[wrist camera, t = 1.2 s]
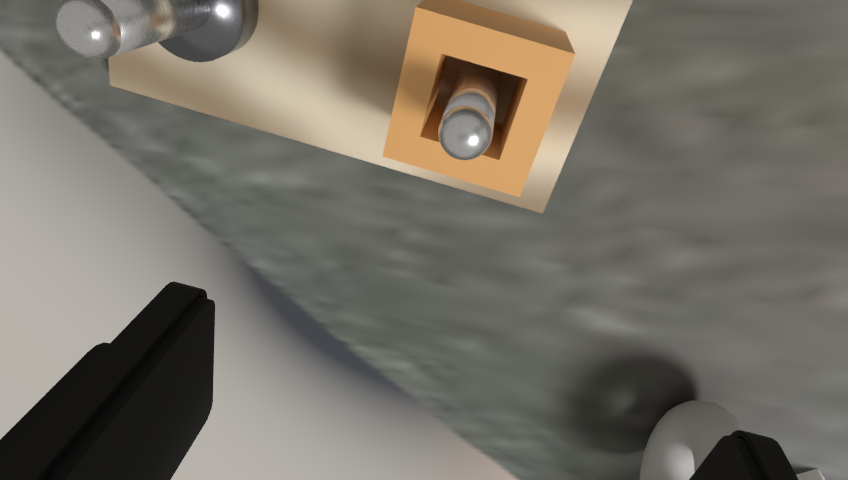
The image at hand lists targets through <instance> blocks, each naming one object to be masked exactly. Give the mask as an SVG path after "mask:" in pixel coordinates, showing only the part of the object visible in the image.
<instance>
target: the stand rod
mask: <svg viewBox="0 0 848 480" xmlns="http://www.w3.org/2000/svg"><path fill="white" fill-rule="evenodd" d="M499 81H500V77H499V72H498V70H495V69H492V68H489V67H485V66H482V65H478V64H475V63H472V62H468V63H467V64H465V66H464V67H463V68H462V70H461V72H460V74H459V77H458V79H457V82H456V84H455V87H454V89H453V92H452V94H451V97H450V99H449V102H448V104H447V107H446V109H445V112H444V114H443V117H442V119H441V122H440V125H439V129H438V137H439V141H440V144H441V146H442V148H443V149H444V150H445V152H446V153H447V154H449V155H450V156H451V157H453V158H455V159H459V160H471V159H475V158H477V157H479V156H481V155H482V154H483V153H484V152H485V151H486V150H487V149H488V147H489V145H490V143H491V140H492V136H493V128H494V120H495V112H496V105H497V97H498V89H499Z"/></svg>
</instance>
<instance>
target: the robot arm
mask: <svg viewBox="0 0 848 480" xmlns="http://www.w3.org/2000/svg"><path fill="white" fill-rule="evenodd" d="M214 320H215V303H214V301H213V300H210V299H207V293H206V291H205V290H203V289H200V288H196V287H193V286H188V285H185V284H181V283H177V282H170V283H169V284H168V285H166V286H165V287H164V288H163V289H162V291H160V292H159V294H158V295H157V296H156V297H155V298H154V299H153V300H152V301H151V302H150V303H149V304H148V305H147V306H146V307H145V308H144V309H143V310H142V311H141V312H140V313H139V314H138V315H137V316H136V317H135V318H134V319H133V320H132V321H131V322H130V324H129V325H128V326H127V327H126V328H125V329H124V330H123V331H122V332H121V333H120V334H119V335H118V336H117V337H116V338H115V339H114V340H113V341H112V342H111V343H101V344H99V345H96V346H95V347H94V348H93V349H91V350H90V351H89V352H87V354H86V355H84V357H83V358H82V359H81V360H80V361H79V362H78V363H77V364H76V365H75V366H74V367H73V368H72V369H71V370H70V371H69V372H68V373H67V374H66V375H65V376H64V377H63V378H62V379H61V380H60V381H59V382H58V383H57V384H56V385H55V386H54V387H53V388H52V389H51V390H50V391H49V392H48V393H47V394H46V395H45V396H44V397H43V398H42V399H41V400H40V401H39V402H38V403H37V404H36V405H35V406H34V407H33V408H32V409H31V410H30V411H29V412H28V413H27V414H26V415H25V416H24V417H23V418H22V419H21V420H20V421H19V422H18V423H17V424H16V425H15V426H14V427H13V428H12V429H11V430H10V431H9V432H8V433H7V434H6V435H5V436H4V437H3V438H2V439H1V440H0V480H170V479H171V478H172V476H173V474H174V473H175V471H176V470H177V468H178V466H179V465H180V463H181V461H182V460H183V458H184V457H185V455H186V453H187V452H188V450H189V448H190V447H191V445H192V443H193V442H194V440H195V439H196V437H197V435H198V434H199V432H200V430H201V429H202V427H203V426H204V424H205V422H206V420H207V419H208V416H209V414H210V410H211V407H212V402H213V364H214V362H213V361H214V324H215V321H214ZM689 480H798V478H797V476H796V474H795V472H794V470H793V469H792V467H791V465H790V463H789V461H788V459H787V457H786V456H785V454H784V452H783V450H782V448H781V446H780V445H779V444H778V442H777V441H775V440H774V439H772V438H769V437H765V436H761V435H758V434H754V433H750V432H746V431H742V430H737V431H734V432H733V433H732V434H731V435H729V436H728V435H726V436H723V437H722V438H721V439H720V440H719V441H718V443H717V444H716V445H715V447H714V448H713V449H712V450H711V452H710V453H709V454H708V456H707V457H706V458H705V460H704V461H703V462H702V463H701V465H700V466H699V467H698V469H697V470H696V471H695V473H694V474H693V475H692V476H691V478H690V479H689Z"/></svg>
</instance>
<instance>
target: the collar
mask: <svg viewBox="0 0 848 480" xmlns="http://www.w3.org/2000/svg"><path fill="white" fill-rule="evenodd" d="M448 56H451V57H455V58H458V59H462V60H465V61H468V62H472V63H475V64H478V65H482V66H485V67H489V68H492V69H495V70H499V71H502V72H506V73H509V74H512V75H516V76H519V77H518V80H517V83H516V86H515V89H514V92H513V95H512V98H511V101H510V104H509V106H508V109H507V112H506V115H505V118H504V121H503V124H502V123H498V122H495V121H494V128H493V136H492V140H491V143H490V145H489V147H488V149H487V150H486V151H485V152H484V153H483V154H482V155H481V156H479V157H477V158H475V159H471V160H459V159H455V158H453V157H451V156H450V155H449V154H447V153H446V152H445V150H444V149H443V148H442V146H441V144H440V141H439V137H438V129H439V125H440V122H441V119H442V117H443V114H444V112H445V109H446V107H444V106H441V105H437V104H435V103H436V99H437V95H438V91H439V88H440V84H441V80H442V76H443V73H444V69H445V65H446V61H447V57H448ZM574 56H575V52H574V50H573V47H572V45H571V43H570V40H569V38H568V36H567V34H566V32H564V31H561V30H558V29H554V28H551V27H547V26H544V25H541V24H537V23H534V22H530V21H527V20H524V19H520V18H517V17H514V16H510V15H507V14H503V13H500V12H497V11H493V10H490V9H486V8H483V7H480V6H476V5H473V4H470V3H466V2H463V1H459V0H424V1H422V2H421V3H420V4H419V5H417V6H416V8H415V12H414V17H413V21H412V26H411V30H410V35H409V39H408V44H407V48H406V53H405V57H404V62H403V66H402V70H401V75H400V79H399V84H398V88H397V93H396V97H395V102H394V106H393V111H392V115H391V120H390V124H389V129H388V133H387V138H386V142H385V147H384V151H383V157H386V158H389V159H393V160H396V161H399V162H403V163H406V164H410V165H413V166H416V167H420V168H423V169H426V170H430V171H433V172H436V173H440V174H443V175H447V176H450V177H453V178H457V179H460V180H463V181H467V182H470V183H474V184H477V185H480V186H484V187H487V188H490V189H494V190H497V191H501V192H504V193H507V194H511V195H514V196H517V197H520V195H521V193H522V190H523V187H524V185H525V182H526V180H527V177H528V175H529V172H530V169H531V167H532V164H533V162H534V159H535V157H536V154H537V151H538V149H539V146H540V144H541V141H542V139H543V136H544V133H545V131H546V128H547V126H548V123H549V121H550V118H551V115H552V113H553V110H554V108H555V105H556V103H557V100H558V97H559V95H560V92H561V90H562V87H563V85H564V82H565V79H566V77H567V74H568V72H569V69H570V66H571V64H572V61H573V59H574Z"/></svg>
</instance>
